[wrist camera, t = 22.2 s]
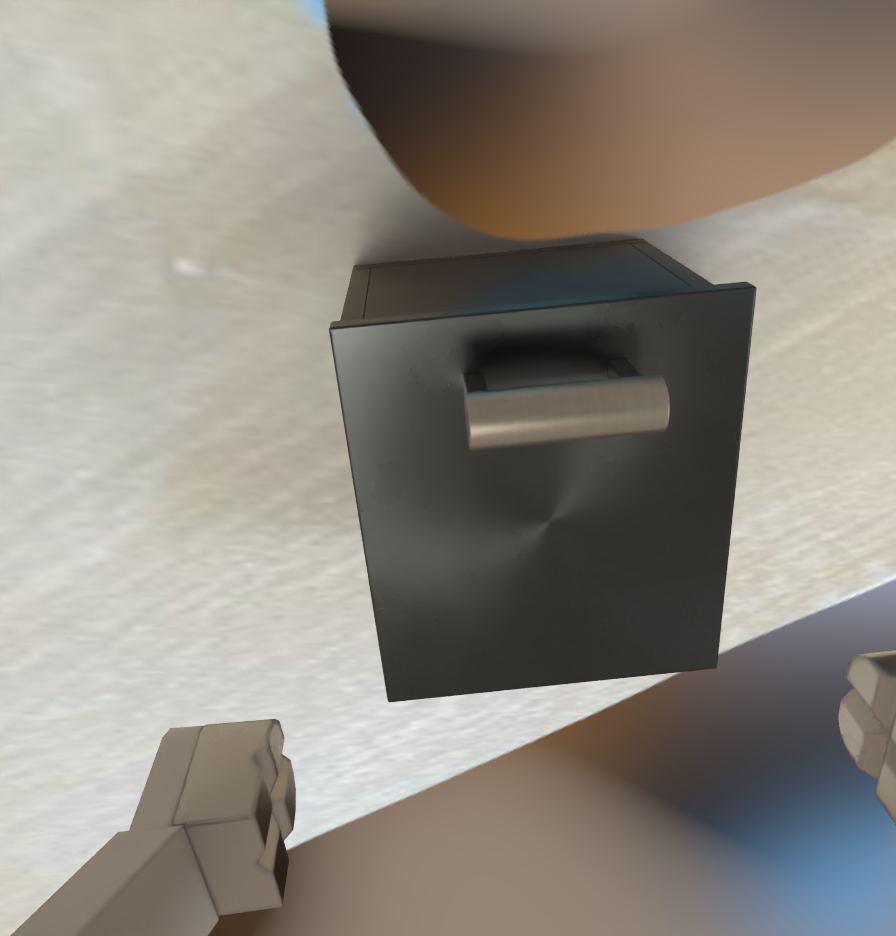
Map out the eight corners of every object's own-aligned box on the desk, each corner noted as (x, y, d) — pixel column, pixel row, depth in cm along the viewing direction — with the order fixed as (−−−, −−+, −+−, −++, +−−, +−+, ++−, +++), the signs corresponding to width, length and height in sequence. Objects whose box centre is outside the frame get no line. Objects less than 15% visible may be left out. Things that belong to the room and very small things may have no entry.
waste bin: (353, 265, 37) (333, 343, 26) (642, 238, 37) (745, 303, 26) (390, 537, 44) (388, 689, 33) (632, 513, 44) (710, 655, 33)
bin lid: (330, 321, 26) (315, 370, 21) (747, 280, 26) (820, 321, 21) (388, 690, 33) (386, 783, 29) (710, 656, 33) (758, 744, 29)
